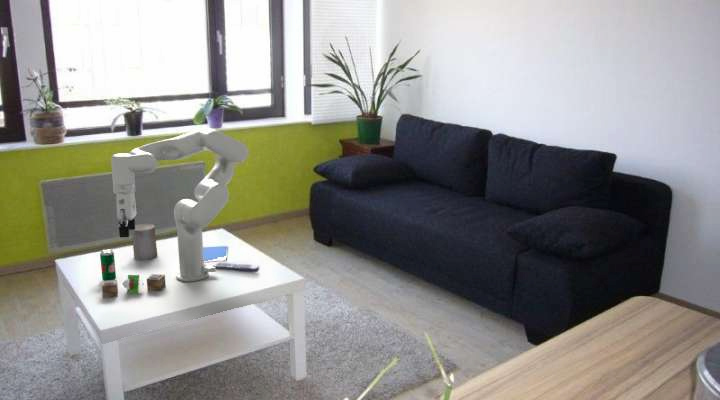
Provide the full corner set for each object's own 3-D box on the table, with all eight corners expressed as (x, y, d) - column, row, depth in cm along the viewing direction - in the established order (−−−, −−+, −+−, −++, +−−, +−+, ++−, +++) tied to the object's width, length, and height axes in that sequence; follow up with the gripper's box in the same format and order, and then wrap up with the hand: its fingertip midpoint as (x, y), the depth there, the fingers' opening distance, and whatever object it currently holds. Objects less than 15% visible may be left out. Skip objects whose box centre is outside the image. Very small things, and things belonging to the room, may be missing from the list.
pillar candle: (148, 251, 287) (145, 219, 283) (162, 255, 281) (159, 223, 278) (129, 257, 279) (125, 224, 276) (143, 262, 274) (139, 228, 270)
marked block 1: (117, 292, 241) (116, 278, 240) (117, 296, 237) (116, 283, 236) (103, 293, 240) (102, 280, 239) (102, 298, 235) (101, 285, 234)
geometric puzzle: (129, 281, 246) (123, 269, 240) (147, 281, 246) (141, 270, 240) (124, 297, 242) (118, 286, 235) (142, 297, 241) (136, 286, 235)
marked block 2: (165, 287, 246) (164, 274, 245) (160, 291, 242) (159, 278, 240) (153, 286, 247) (152, 273, 246) (147, 291, 242) (146, 278, 241)
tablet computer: (227, 262, 275) (226, 259, 275) (196, 264, 273) (196, 261, 273) (228, 248, 294) (227, 245, 293) (199, 249, 292) (199, 247, 291)
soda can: (111, 282, 250) (108, 253, 247) (99, 281, 251) (97, 252, 248) (118, 278, 255) (116, 249, 252) (107, 277, 256) (104, 248, 253)
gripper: (129, 193, 224) (132, 240, 228) (140, 182, 241) (143, 226, 245) (107, 193, 223) (111, 240, 227) (119, 183, 240) (122, 227, 244)
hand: (127, 233), depth 236 cm, fingers open, 9 cm apart
